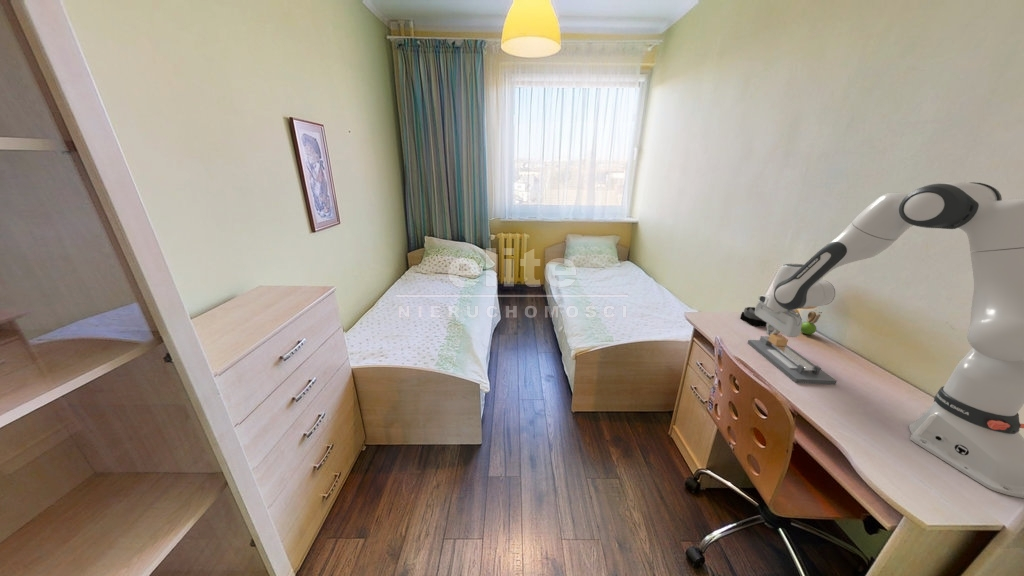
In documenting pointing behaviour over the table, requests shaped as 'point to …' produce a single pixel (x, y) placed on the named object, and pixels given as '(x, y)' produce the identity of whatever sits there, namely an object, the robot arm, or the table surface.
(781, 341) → the tan small block
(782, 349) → the grey metal bar
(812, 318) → the snail figurine
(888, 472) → the table surface
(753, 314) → the cpu cooler
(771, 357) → the socket frame
